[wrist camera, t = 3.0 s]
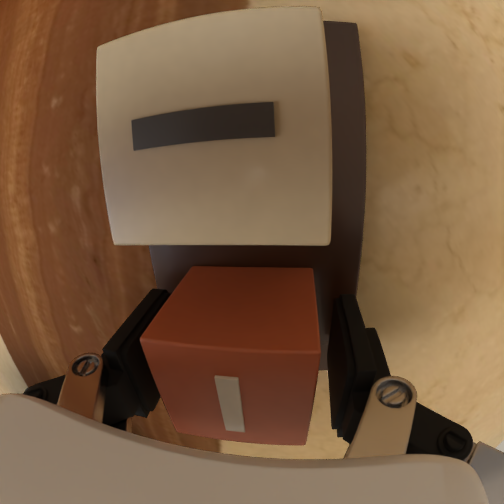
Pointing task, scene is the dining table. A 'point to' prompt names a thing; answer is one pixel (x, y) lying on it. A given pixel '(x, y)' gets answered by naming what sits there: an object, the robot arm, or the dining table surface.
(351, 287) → the board
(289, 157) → the cream slotted block
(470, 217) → the dining table surface
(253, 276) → the red slotted cube
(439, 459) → the robot arm
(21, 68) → the dining table surface
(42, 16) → the dining table surface
